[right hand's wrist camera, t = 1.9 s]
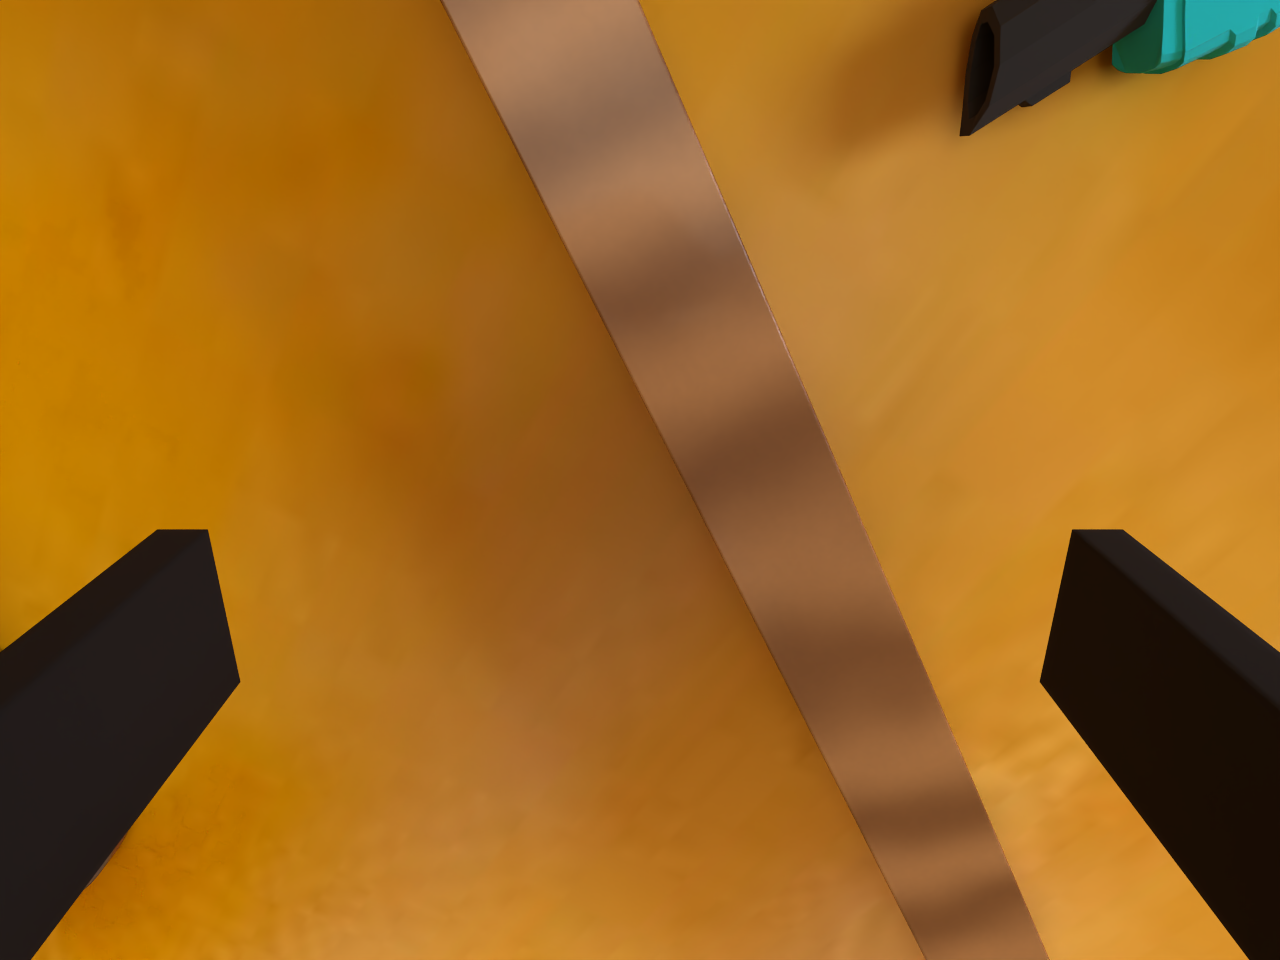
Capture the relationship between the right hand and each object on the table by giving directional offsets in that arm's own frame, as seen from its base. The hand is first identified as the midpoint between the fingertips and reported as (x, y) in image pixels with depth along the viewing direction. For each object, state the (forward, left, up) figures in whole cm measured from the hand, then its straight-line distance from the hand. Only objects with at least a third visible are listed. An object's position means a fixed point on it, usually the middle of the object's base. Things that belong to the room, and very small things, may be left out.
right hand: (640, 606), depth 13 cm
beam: (+2, 0, -21) cm, 21 cm away
